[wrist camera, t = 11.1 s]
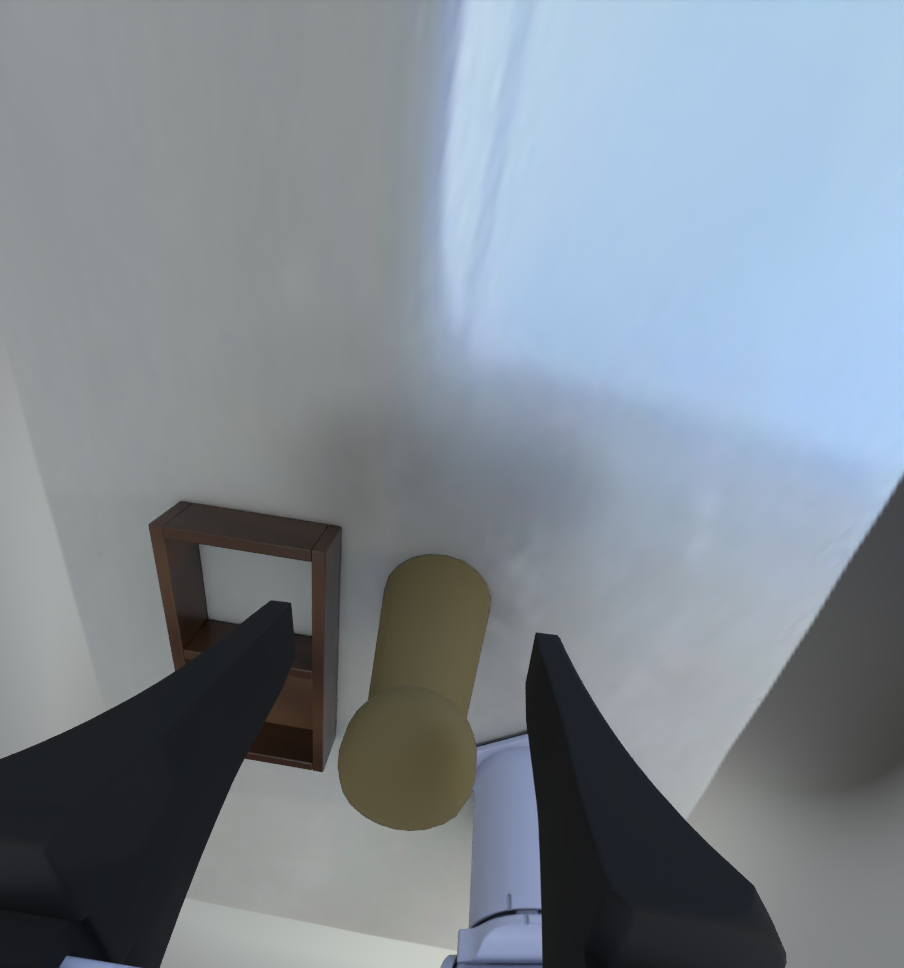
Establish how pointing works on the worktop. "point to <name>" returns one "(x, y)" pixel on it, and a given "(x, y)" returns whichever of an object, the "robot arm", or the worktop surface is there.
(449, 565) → the cork
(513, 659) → the worktop surface
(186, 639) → the caddy
